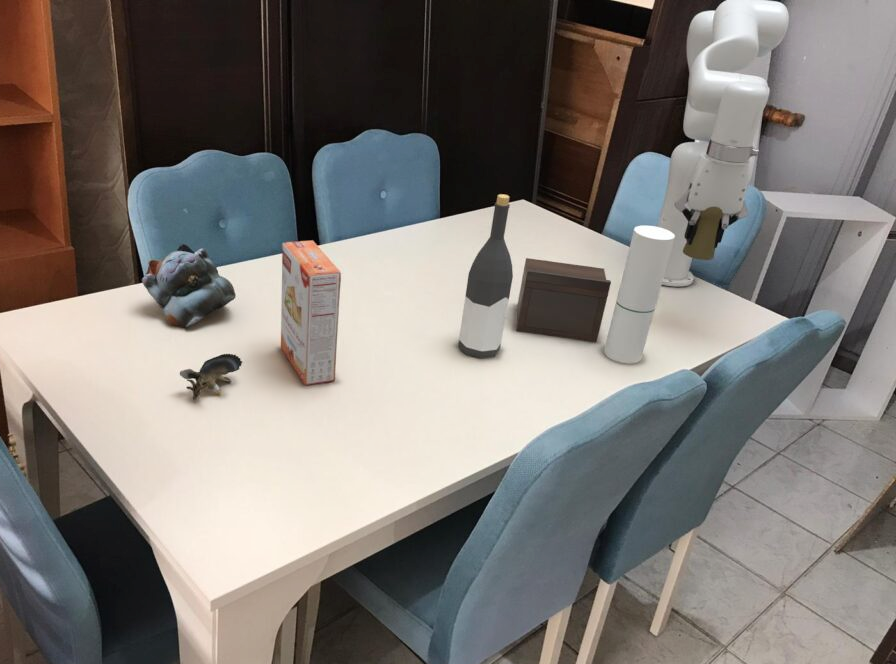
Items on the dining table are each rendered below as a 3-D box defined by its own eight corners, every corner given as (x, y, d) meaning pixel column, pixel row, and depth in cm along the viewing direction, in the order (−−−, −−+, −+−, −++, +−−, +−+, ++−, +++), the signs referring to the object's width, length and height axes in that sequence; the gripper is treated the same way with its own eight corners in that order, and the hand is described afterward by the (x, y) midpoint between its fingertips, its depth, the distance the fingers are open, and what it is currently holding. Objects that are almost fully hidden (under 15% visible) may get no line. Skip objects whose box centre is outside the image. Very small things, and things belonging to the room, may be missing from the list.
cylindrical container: (642, 350, 166) (675, 230, 153) (639, 366, 160) (673, 242, 147) (605, 342, 167) (635, 222, 155) (601, 358, 161) (632, 234, 149)
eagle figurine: (221, 404, 134) (252, 372, 140) (196, 369, 131) (228, 337, 138) (192, 412, 139) (223, 380, 145) (167, 378, 136) (199, 347, 142)
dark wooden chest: (517, 306, 179) (527, 248, 172) (592, 316, 177) (606, 259, 171) (516, 330, 169) (527, 270, 162) (596, 342, 167) (611, 282, 161)
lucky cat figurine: (172, 335, 155) (139, 264, 151) (161, 331, 166) (130, 265, 162) (245, 301, 159) (214, 232, 156) (230, 299, 170) (201, 235, 166)
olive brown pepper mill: (715, 261, 164) (732, 208, 159) (684, 257, 165) (699, 203, 159) (711, 250, 170) (727, 198, 164) (680, 246, 170) (695, 193, 165)
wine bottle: (476, 334, 165) (500, 185, 150) (508, 350, 161) (536, 198, 146) (449, 346, 160) (470, 193, 145) (481, 363, 156) (507, 206, 140)
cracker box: (278, 348, 154) (280, 240, 143) (309, 345, 156) (314, 238, 145) (302, 387, 143) (307, 273, 132) (335, 382, 145) (343, 270, 135)
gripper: (768, 151, 159) (739, 242, 169) (679, 141, 161) (655, 231, 170) (779, 163, 153) (748, 256, 162) (685, 152, 154) (660, 245, 164)
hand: (701, 243), depth 166 cm, fingers closed on olive brown pepper mill, 4 cm apart
